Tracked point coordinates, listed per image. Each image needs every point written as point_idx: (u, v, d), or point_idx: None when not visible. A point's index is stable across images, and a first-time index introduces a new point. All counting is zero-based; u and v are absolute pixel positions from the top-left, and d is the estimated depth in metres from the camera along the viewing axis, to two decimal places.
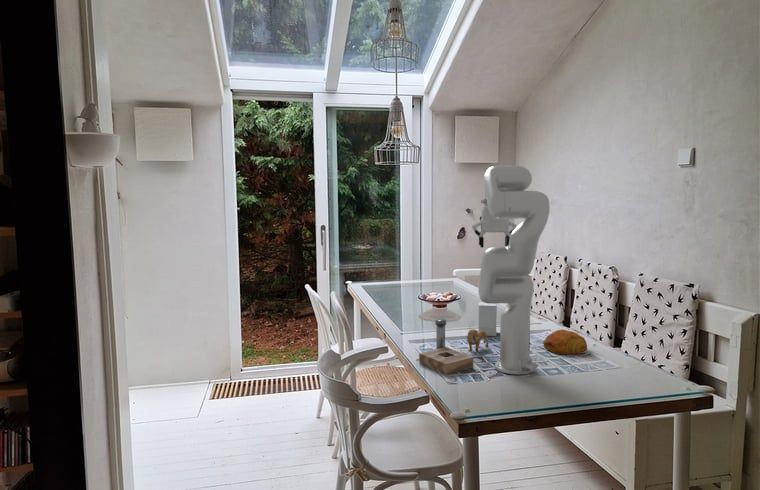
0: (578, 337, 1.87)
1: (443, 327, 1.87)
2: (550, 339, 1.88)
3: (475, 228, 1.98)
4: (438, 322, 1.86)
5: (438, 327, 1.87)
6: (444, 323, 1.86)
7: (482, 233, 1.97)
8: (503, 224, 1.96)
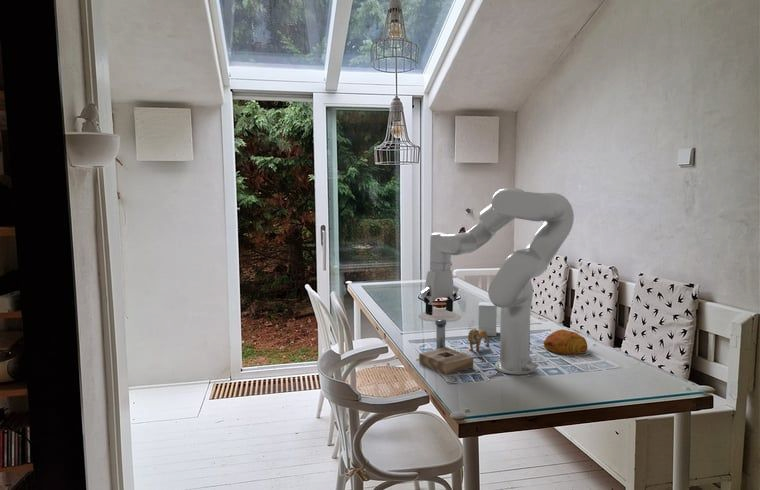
0: (578, 337, 1.87)
1: (443, 327, 1.87)
2: (550, 339, 1.88)
3: None
4: (438, 322, 1.86)
5: (438, 327, 1.87)
6: (444, 323, 1.86)
7: None
8: None
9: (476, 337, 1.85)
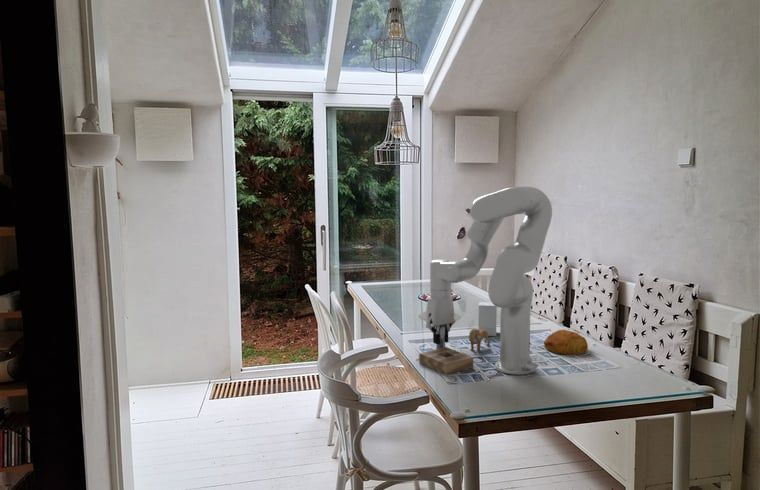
0: (579, 337, 1.87)
1: (443, 327, 1.87)
2: (551, 339, 1.88)
3: None
4: None
5: None
6: None
7: None
8: None
9: (477, 337, 1.86)
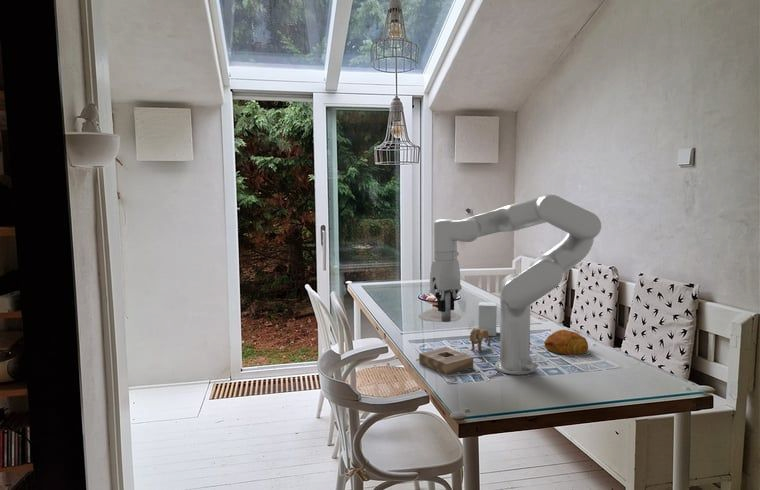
0: (579, 337, 1.86)
1: (448, 293, 1.71)
2: (551, 339, 1.88)
3: None
4: None
5: None
6: None
7: None
8: None
9: (478, 336, 1.86)
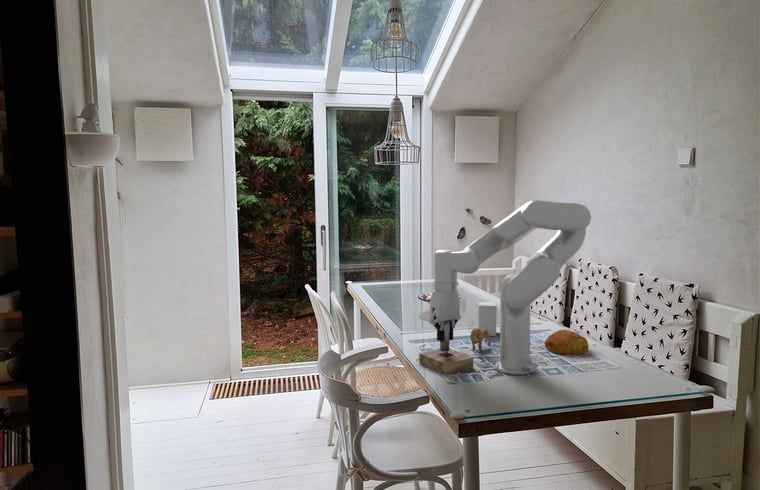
0: (579, 337, 1.86)
1: (448, 323, 1.72)
2: (551, 339, 1.88)
3: None
4: None
5: None
6: None
7: None
8: None
9: (479, 336, 1.87)
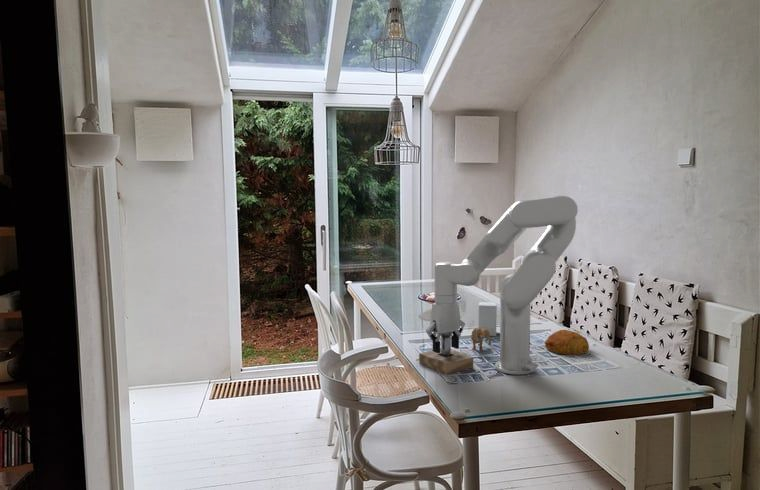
0: (580, 337, 1.86)
1: (448, 338, 1.73)
2: (552, 339, 1.88)
3: None
4: None
5: (443, 338, 1.73)
6: (449, 334, 1.72)
7: None
8: None
9: (480, 336, 1.87)
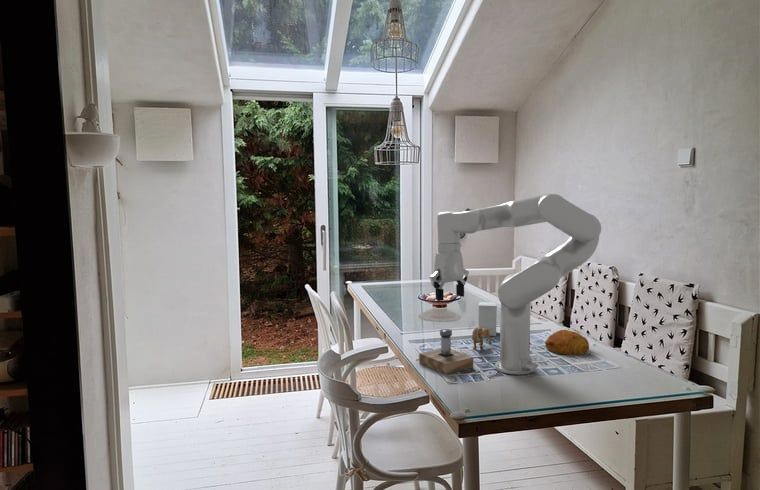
0: (580, 337, 1.86)
1: (448, 338, 1.73)
2: (552, 339, 1.88)
3: None
4: (443, 333, 1.72)
5: (443, 338, 1.73)
6: (449, 334, 1.72)
7: None
8: None
9: (480, 335, 1.87)
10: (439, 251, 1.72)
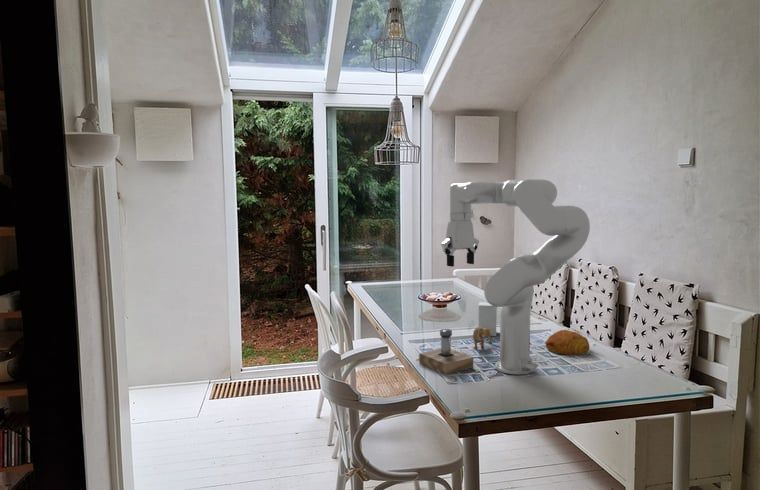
0: (580, 337, 1.86)
1: (448, 338, 1.73)
2: (552, 339, 1.88)
3: None
4: (443, 333, 1.72)
5: (443, 338, 1.73)
6: (449, 334, 1.72)
7: None
8: None
9: (482, 335, 1.88)
10: (451, 220, 1.83)
